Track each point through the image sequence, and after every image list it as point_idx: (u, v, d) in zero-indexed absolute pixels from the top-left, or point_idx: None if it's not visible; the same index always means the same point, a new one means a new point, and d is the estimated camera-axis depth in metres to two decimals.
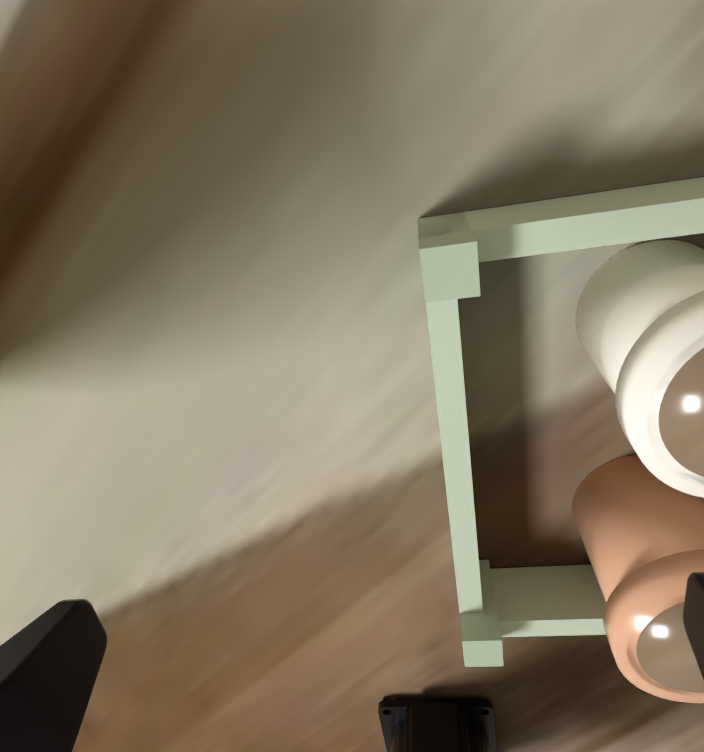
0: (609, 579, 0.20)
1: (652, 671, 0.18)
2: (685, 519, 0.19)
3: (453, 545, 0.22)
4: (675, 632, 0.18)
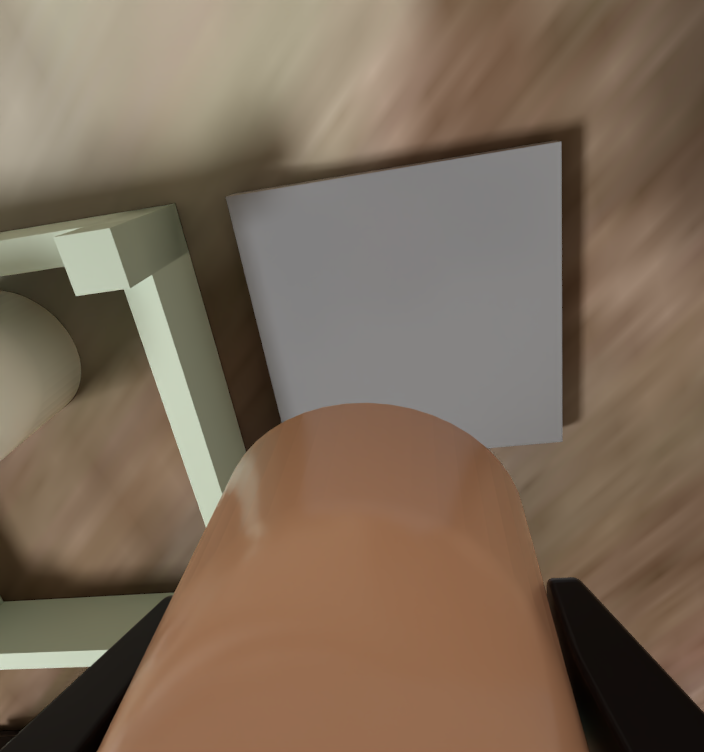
0: None
1: None
2: (319, 623, 0.05)
3: None
4: None
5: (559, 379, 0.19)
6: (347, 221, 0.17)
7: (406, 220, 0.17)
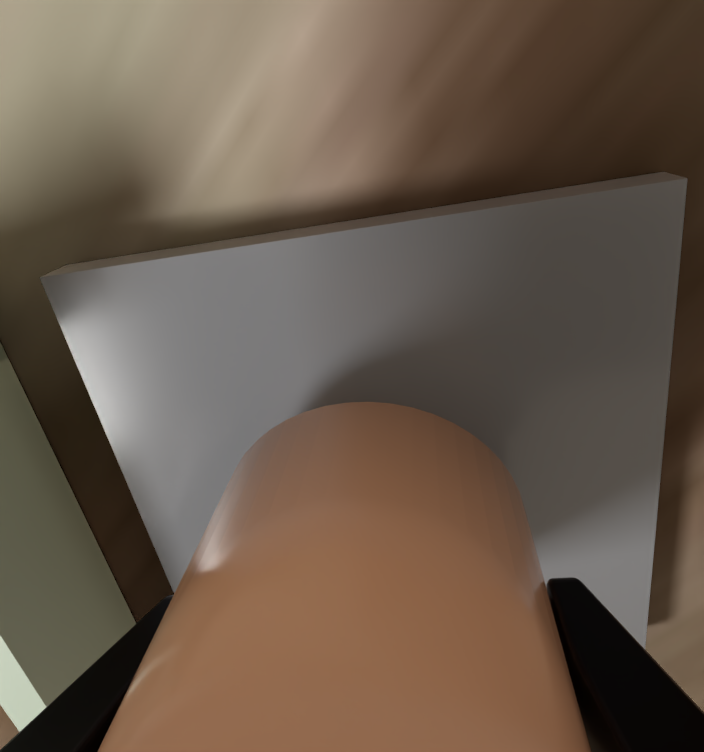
0: None
1: None
2: (319, 621, 0.05)
3: None
4: None
5: (646, 580, 0.11)
6: (264, 322, 0.09)
7: (374, 323, 0.09)
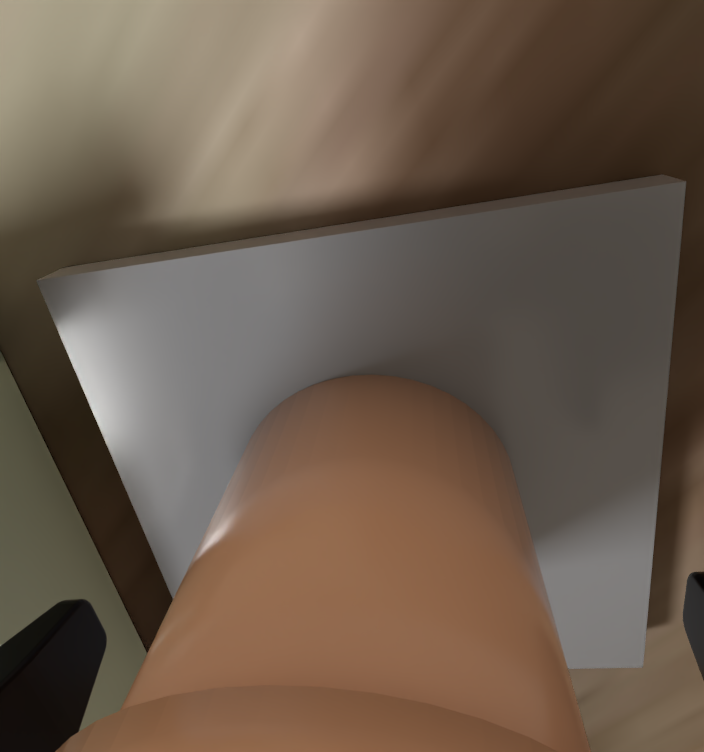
0: None
1: None
2: (335, 543, 0.06)
3: None
4: None
5: (645, 583, 0.11)
6: (262, 325, 0.09)
7: (372, 326, 0.09)
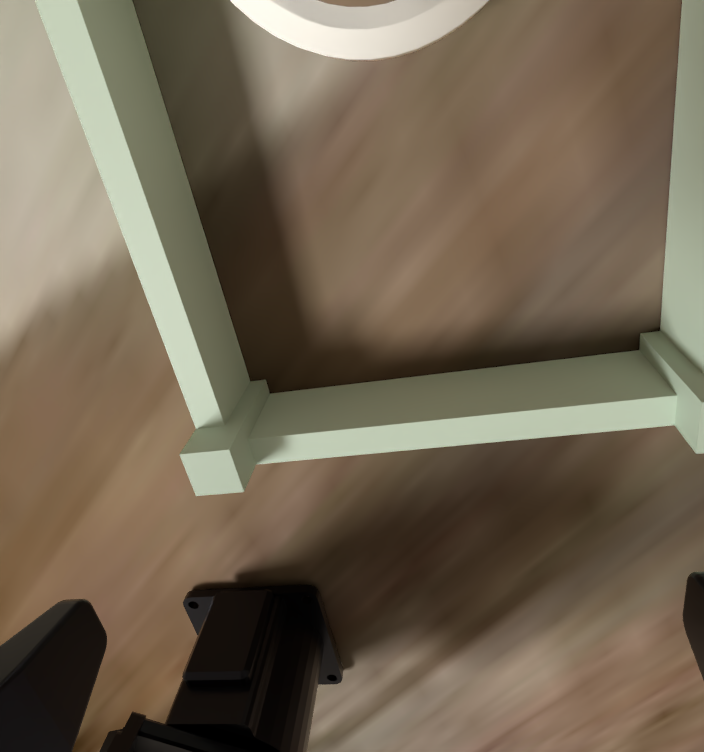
0: None
1: None
2: None
3: (155, 317, 0.16)
4: None
5: None
6: None
7: None
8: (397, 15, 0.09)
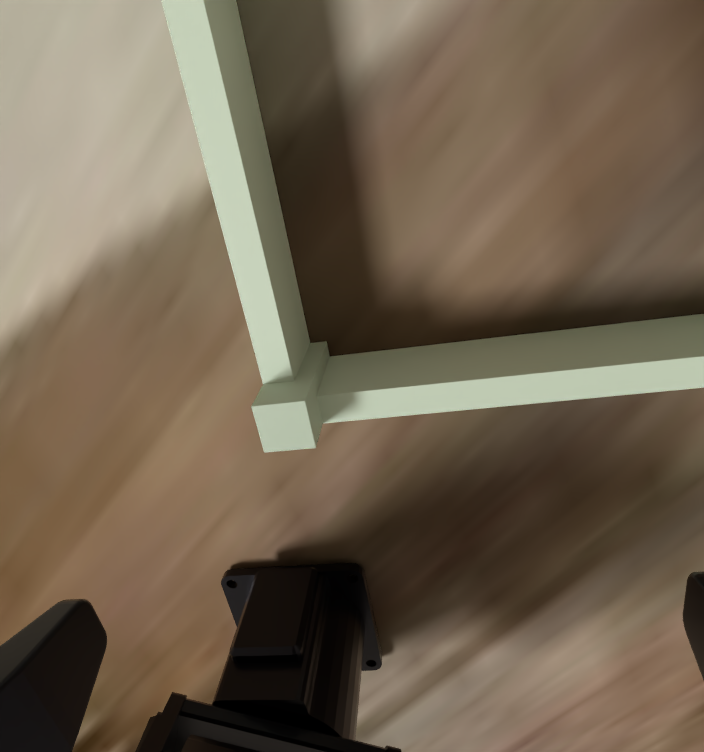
0: None
1: None
2: None
3: (232, 261, 0.15)
4: None
5: None
6: None
7: None
8: None
